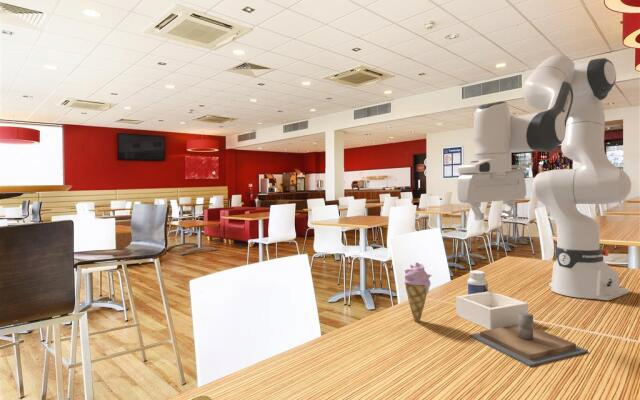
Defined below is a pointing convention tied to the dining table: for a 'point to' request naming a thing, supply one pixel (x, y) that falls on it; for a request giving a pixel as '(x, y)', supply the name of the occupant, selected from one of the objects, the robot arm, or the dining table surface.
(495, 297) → the dish
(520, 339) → the lid
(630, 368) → the dining table surface
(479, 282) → the pill bottle
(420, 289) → the ice cream cone
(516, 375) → the dining table surface
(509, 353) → the mat
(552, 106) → the robot arm
